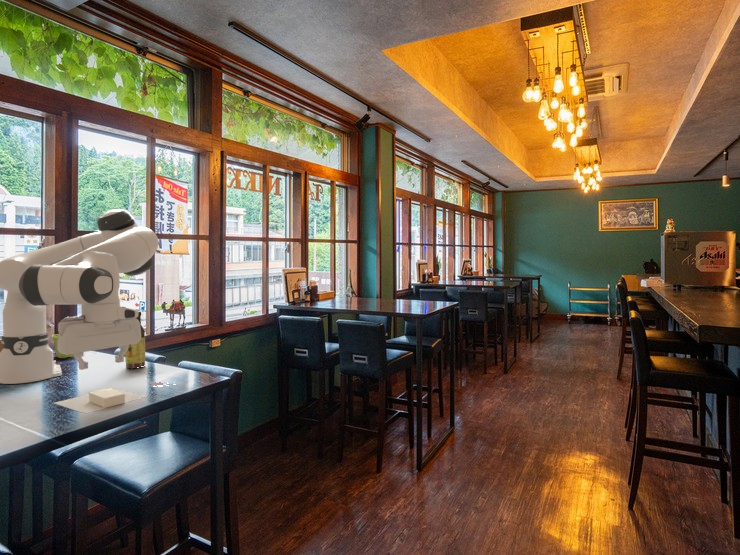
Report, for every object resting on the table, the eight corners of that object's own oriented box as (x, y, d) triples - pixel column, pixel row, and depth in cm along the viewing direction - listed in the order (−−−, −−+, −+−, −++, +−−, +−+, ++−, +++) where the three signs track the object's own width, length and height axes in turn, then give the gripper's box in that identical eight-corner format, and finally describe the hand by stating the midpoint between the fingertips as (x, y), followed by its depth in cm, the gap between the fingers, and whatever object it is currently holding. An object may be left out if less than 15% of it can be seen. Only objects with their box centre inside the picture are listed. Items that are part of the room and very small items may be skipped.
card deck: (88, 392, 122) (104, 398, 117) (108, 388, 126) (124, 393, 121) (89, 401, 122) (104, 408, 117) (108, 397, 126) (125, 403, 121)
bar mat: (53, 404, 121) (53, 402, 121) (113, 389, 135) (113, 388, 135) (85, 415, 113) (85, 413, 113) (146, 398, 127) (146, 396, 127)
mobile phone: (171, 372, 153) (178, 383, 140) (171, 375, 153) (178, 386, 140) (145, 375, 149) (151, 386, 136) (146, 378, 149) (151, 389, 136)
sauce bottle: (123, 367, 163) (122, 311, 162) (143, 364, 167) (141, 309, 166) (128, 370, 158) (126, 312, 157) (147, 367, 162) (146, 311, 161)
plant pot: (85, 353, 186) (84, 332, 185) (72, 359, 176) (71, 336, 176) (61, 354, 185) (60, 332, 185) (46, 359, 176) (45, 336, 175)
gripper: (64, 318, 111) (65, 375, 112) (144, 310, 129) (144, 359, 129) (51, 316, 115) (52, 371, 115) (130, 309, 132) (131, 357, 133)
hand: (102, 365), depth 123 cm, fingers open, 8 cm apart
